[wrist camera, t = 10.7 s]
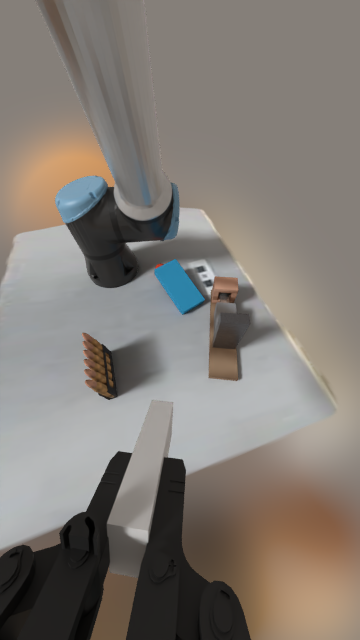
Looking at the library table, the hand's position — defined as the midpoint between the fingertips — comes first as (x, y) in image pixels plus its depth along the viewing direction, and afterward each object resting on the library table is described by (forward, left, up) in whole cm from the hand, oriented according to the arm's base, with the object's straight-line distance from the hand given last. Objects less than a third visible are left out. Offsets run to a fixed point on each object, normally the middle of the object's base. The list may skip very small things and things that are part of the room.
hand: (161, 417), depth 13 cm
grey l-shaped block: (-19, +16, -24) cm, 35 cm away
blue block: (-34, +7, -27) cm, 44 cm away
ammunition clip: (-13, -12, -26) cm, 32 cm away
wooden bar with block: (-17, +16, -26) cm, 35 cm away
